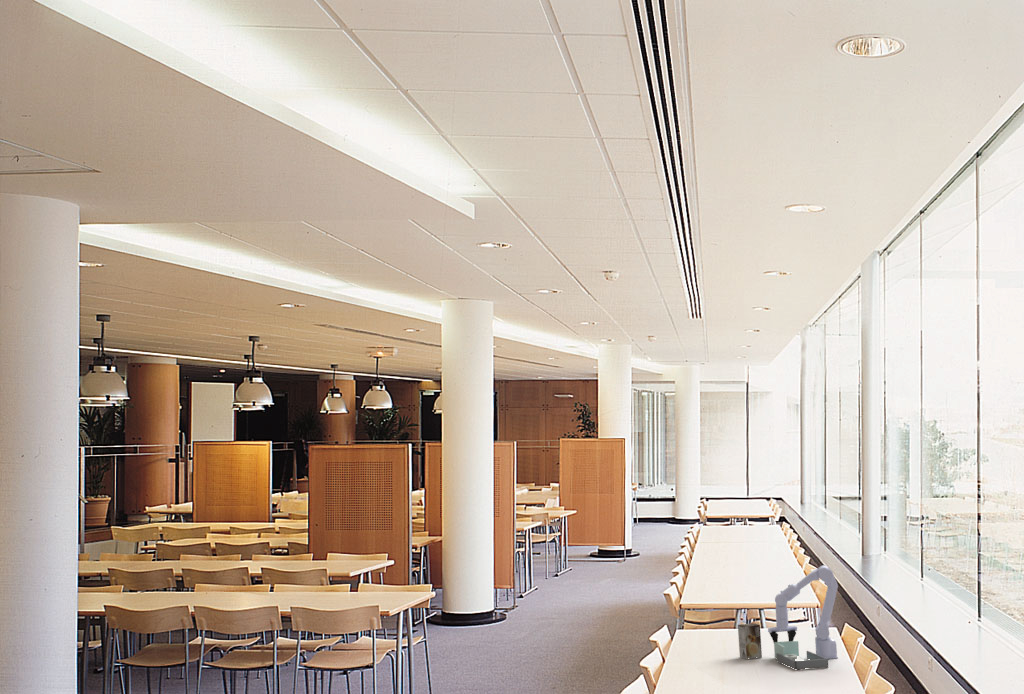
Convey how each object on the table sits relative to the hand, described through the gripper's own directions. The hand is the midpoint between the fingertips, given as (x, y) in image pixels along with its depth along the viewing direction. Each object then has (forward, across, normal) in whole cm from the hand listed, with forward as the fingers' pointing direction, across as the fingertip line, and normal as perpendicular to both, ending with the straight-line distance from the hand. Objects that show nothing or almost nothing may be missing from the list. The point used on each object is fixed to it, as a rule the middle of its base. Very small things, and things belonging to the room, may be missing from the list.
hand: (783, 646), depth 521 cm
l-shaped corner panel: (+5, 0, +7) cm, 9 cm away
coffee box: (+5, +16, -4) cm, 17 cm away
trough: (+5, 0, +19) cm, 20 cm away
